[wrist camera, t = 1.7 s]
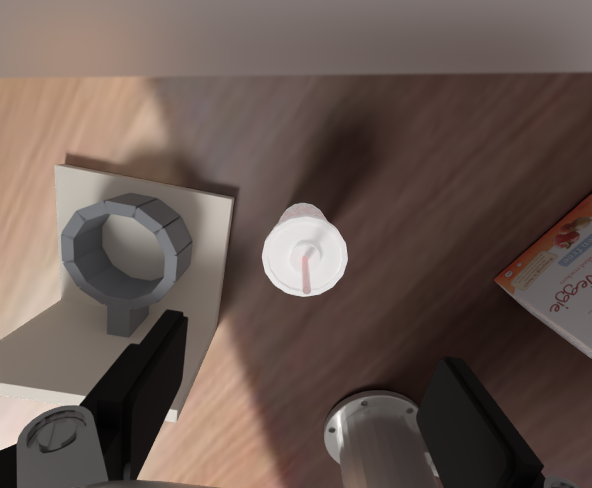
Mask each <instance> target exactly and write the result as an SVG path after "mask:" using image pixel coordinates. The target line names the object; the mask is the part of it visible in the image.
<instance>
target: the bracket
mask: <svg viewBox="0 0 592 488" xmlns="http://www.w3.org/2000/svg"><path fill="white" fill-rule="evenodd" d="M55 186H56V207H57V227H58V248H59V269H60V289H61V300H60V301H58V302H57V303H55V304H54V305H52V306H51V307H49V308H48V309H46V310H45V311H43V312H42V313H40V314H39V315H37V316H36V317H34V318H33V319H31V320H30V321H28V322H27V323H25V324H24V325H22V326H21V327H19V328H18V329H16V330H15V331H13V332H12V333H10V334H9V335H7V336H6V337H4V338H3V339H1V340H0V396H4V397H11V398H17V399H24V400H31V401H37V402H44V403H50V404H57V405H63V406H66V405H77V406H79V404H80V403H81V402H82V401H83V400H84V398H85V397H86V396H87V395H88V394H89V392H90V391H91V390H92V389H93V387H94V386H95V385H96V384H97V383H98V381H99V380H100V379H101V378H102V377H103V375H104V374H105V373H106V372H107V370H108V369H109V368H110V367H111V366H112V364H113V363H114V362H115V361H116V359H117V358H118V357H119V356H120V355H121V353H122V352H123V351H124V350H125V349H126V347H127V346H128V345H129V344H131V343H135V344H140V342H141V341H142V340H143V339H144V337H145V336H146V335H147V333H148V332H149V331H150V330H151V328H152V327H153V326H154V324H155V323H156V322H157V320H158V319H159V318H160V317H161V315H162V314H163V313H164V311H165V310H166V309H169V310H175V311H181V312H183V314H184V316H185V317H188V328H187V338H186V349H185V359H184V370H183V379H182V383H181V386H180V388H179V390H178V393H177V395H176V397H175V399H174V401H173V403H172V405H171V407H170V409H169V412H168V414H167V416H166V418H165V420H164V421H168V422H175V423H176V422H177V420H178V418H179V415H180V413H181V411H182V408H183V406H184V404H185V401H186V399H187V397H188V395H189V392H190V390H191V388H192V385H193V383H194V381H195V378H196V376H197V374H198V371H199V369H200V367H201V364H202V362H203V360H204V358H205V355H206V353H207V351H208V348H209V346H210V344H211V341H212V339H213V337H214V334H215V332H216V330H217V324H218V316H219V309H220V301H221V294H222V287H223V279H224V272H225V264H226V257H227V250H228V242H229V235H230V227H231V220H232V213H233V205H234V198H235V197H231V196H226V195H220V194H215V193H210V192H205V191H200V190H195V189H190V188H185V187H180V186H174V185H169V184H164V183H159V182H154V181H149V180H144V179H139V178H134V177H128V176H123V175H118V174H113V173H108V172H103V171H98V170H93V169H88V168H83V167H77V166H72V165H67V164H58V165H55Z"/></svg>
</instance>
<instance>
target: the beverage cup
mask: <svg viewBox="0 0 592 488" xmlns="http://www.w3.org/2000/svg"><path fill="white" fill-rule="evenodd" d="M262 260H263V265H264V269H265V273H266V274H267V276H268V277H269V278H270V280H271V281H272V283H273V284H274V285H275V286H277V287H278V288H280V289H281V290H283V291H284V292H286V293H288V294H292V295H297V296H302V297H305V296H312V295H319V294H321V293H323V292H324V291H326V290H328V289H330V288H332V287H333V286H334V285H335V284H336V283H337V281H338V280H339V279H340V278H341V277H342V275H343V274H344V270H345V267H346V264H347V260H348V258H347V249H346V243H345V241H344V240H343V238H342V236H341V235H340V233H339V231H338V230H337V228H336V227H335V226H333V225H332V224H330V223H329V222H328V221H327V220H326V218H325V217H324V215H323V214H322V212H321V211H320V210H319V209H318V208H316V207H315V206H314V205H311V204H307V203H299V204H294V205H293V206H291V207H289V208H288V209H286V211H285V212H284V214H283V215H282V216H281V218H280V220H279V222H278V224H277V225H276V226H275V227H274V229H273V230H272V231H271V233H270V234H269V236H268V237H267V239H266V240H265V244H264V249H263V254H262Z"/></svg>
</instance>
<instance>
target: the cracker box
mask: <svg viewBox="0 0 592 488" xmlns="http://www.w3.org/2000/svg"><path fill="white" fill-rule="evenodd" d="M494 281H495V282H496V283H497V284H499V285H500V286H501V287H502V288H503V289H504V290H505V291H506V292H507V293H508V294H509V295H510V296H512V297H513V298H514V299H515V300H516V301H517V302H518V303H519V304H520V305H522V306H523V307H524V308H525V309H526V310H527V311H528V312H530V313H531V314H532V315H534V316H535V317H536V318H537V319H539V320H540V321H541V322H543V323H544V324H546V325H547V326H548V327H549V328H551V329H552V330H553V331H555V332H556V333H557V334H559V335H560V336H561V337H563V338H564V339H565V340H567V341H568V342H569V343H571V344H572V345H573V346H575V347H576V348H578V349H579V350H580V351H582V352H583V353H584V354H586V355H587V356H588V357H590V358H591V359H592V193H591V194H590V195H589V196H588V197H587V198H586V199H585V200H583V201H582V202H581V203H580V204H579V205H578V206H577V207H576V208H574V209H573V210H572V211H571V212H570V213H569V214H567V215H566V216H565V217H564V218H563V219H562V220H561V221H559V222H558V223H557V224H556V225H555V226H554V227H553V228H551V229H550V230H549V231H548V232H547V233H546V234H545V235H544V236H542V237H541V238H540V239H539V240H538V241H537V242H536V243H535V244H533V245H532V246H531V247H530V248H529V249H528V250H526V251H525V252H524V253H523V254H522V255H521V256H520V257H518V258H517V259H516V260H515V261H514V262H513V263H512V264H510V265H509V266H508V267H507V268H506V269H505V270H504V271H502V272H501V273H500V274H499V275H498V276H497V277H496V278H494Z"/></svg>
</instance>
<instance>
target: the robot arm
mask: <svg viewBox="0 0 592 488" xmlns="http://www.w3.org/2000/svg"><path fill="white" fill-rule="evenodd" d="M187 328H188V317H185V316H184V314H183V312H181V311H175V310H169V309H166V310H165V311H164V313H163V314H162V315H161V317H160V318H159V319H158V320H157V322H156V323H155V324H154V326H153V327H152V328H151V330H150V331H149V332H148V333H147V335H146V336H145V337H144V339H143V340H142V341H141V342H140V344H135V343H131V344H129V345H128V346H127V347H126V349H125V350H124V351H123V352H122V353H121V355H120V356H119V357H118V358H117V359H116V361H115V362H114V363H113V364H112V366H111V367H110V368H109V369H108V370H107V372H106V373H105V374H104V375H103V377H102V378H101V379H100V380H99V381H98V383H97V384H96V385H95V386H94V387H93V389H92V390H91V391H90V392H89V394H88V395H87V396H86V397H85V398H84V400H83V401H82V402H81V403H80V404H79V406H77V405H66V406H61V407H57V408H54V409H51V410H49V411H47V412H44V413H42V414H41V415H39V416H38V417H36V418H35V419H33V420H32V421H31V422H30V423H29V424H28V425H27V426H26V427H25V428H24V429H23V431H22V432H21V434H20V435H19V437H18V442H17V444H15V445H12V446H10V447H8V448H5V449H3V450H0V488H218V487H209V486H200V485H191V484H182V483H173V482H162V481H145V480H136V479H137V477H138V475H139V473H140V471H141V469H142V467H143V464H144V462H145V460H146V458H147V456H148V454H149V452H150V450H151V448H152V445H153V443H154V441H155V439H156V437H157V435H158V433H159V431H160V428H161V426H162V424H163V422H164V420H165V418H166V416H167V414H168V412H169V409H170V407H171V405H172V403H173V401H174V399H175V397H176V395H177V393H178V390H179V388H180V386H181V383H182V379H183V370H184V359H185V349H186V338H187ZM324 441H325V445H326V449H327V450H328V452H329V454H330V455H331V456H332V458H333V459H334V460H335V461H336V462H338V463H339V464H340V465H341V472H342V479H343V487H344V488H439V486H438V484H437V481H436V479H435V476H437V477H440V480H441V482H442V484H443V487H444V488H580V487H578V486H577V485H575V484H574V483H572V482H570V481H568V480H566V479H564V478H561V477H558V476H549V477H547V478H545V477H544V476H543V474H542V473H541V470H542V469H543V467H544V465H543V464H542V463H541V461H540V460H539V459H538V457H537V456H536V455H535V453H534V452H533V451H532V449H531V448H530V447H529V445H528V444H527V443H526V442H525V440H524V439H523V438H522V436H521V435H520V434H519V432H518V431H517V430H516V428H515V427H514V426H513V424H512V423H511V422H510V420H509V419H508V418H507V416H506V415H505V414H504V413H503V411H502V410H501V409H500V407H499V406H498V405H497V403H496V402H495V401H494V399H493V398H492V397H491V395H490V394H489V393H488V391H487V390H486V389H485V387H484V386H483V385H482V383H481V382H480V381H479V380H478V378H477V377H476V376H475V374H474V373H473V372H472V370H471V369H470V368H469V366H468V365H467V364H466V362H465V361H464V360H463V359H460V358H454V357H448V356H446V357H444V358H443V360H439V362H438V364H437V366H436V368H435V371H434V373H433V375H432V378H431V380H430V383H429V385H428V387H427V390H426V392H425V395H424V397H423V399H422V402H421V404H420V407H418V406H417V405H416V404H415V403H414V402H413V401H412V400H411V399H409V398H407V397H405V396H404V395H401V394H398V393H395V392H391V391H385V390H372V391H365V392H361V393H358V394H354V395H352V396H350V397H348V398H346V399H344V400H343V401H341V402H340V403H339V404H337V405H336V406H335V407H334V408H333V409H332V410H331V412H330V414H329V415H328V417H327V419H326V422H325V424H324Z"/></svg>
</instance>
